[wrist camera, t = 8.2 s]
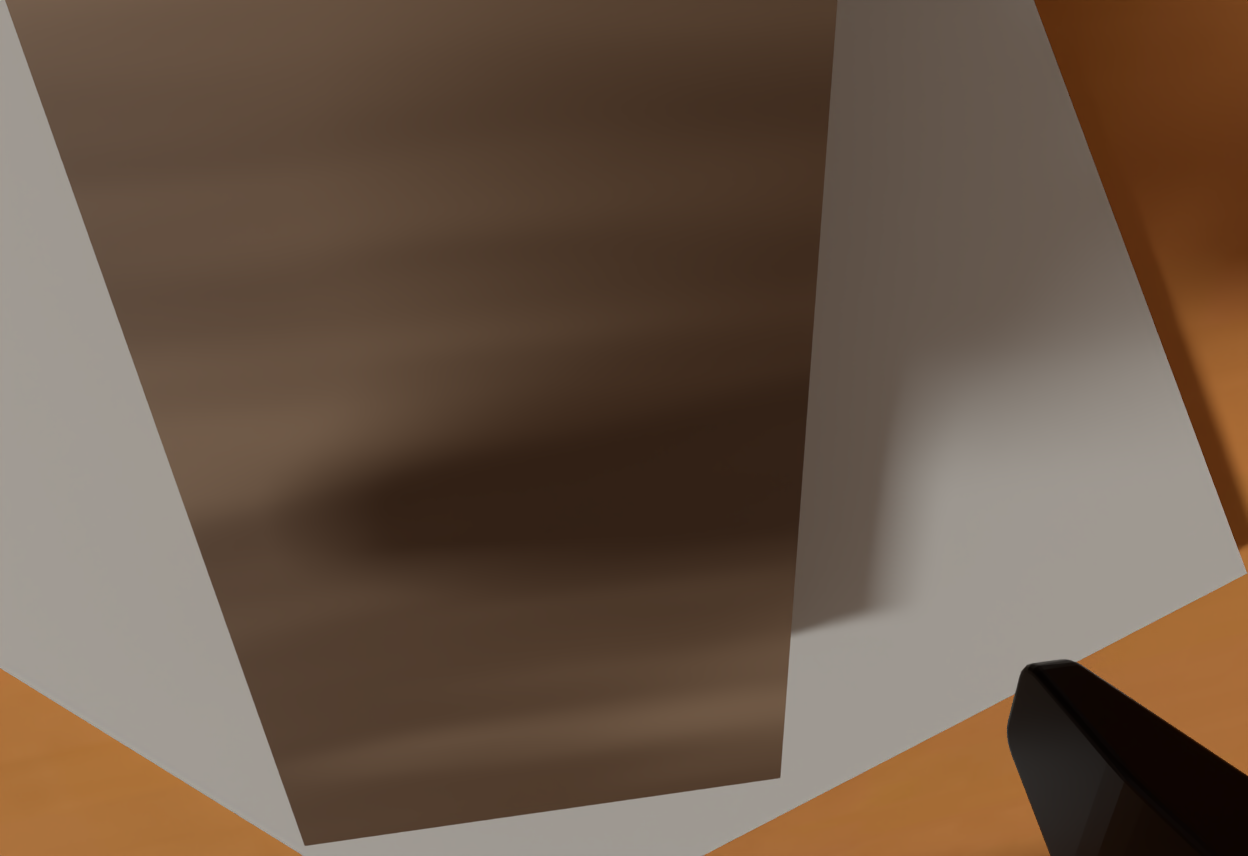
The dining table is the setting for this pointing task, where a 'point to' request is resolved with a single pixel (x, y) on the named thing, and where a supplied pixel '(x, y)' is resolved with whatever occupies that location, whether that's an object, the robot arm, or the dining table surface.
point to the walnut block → (470, 370)
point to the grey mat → (832, 470)
